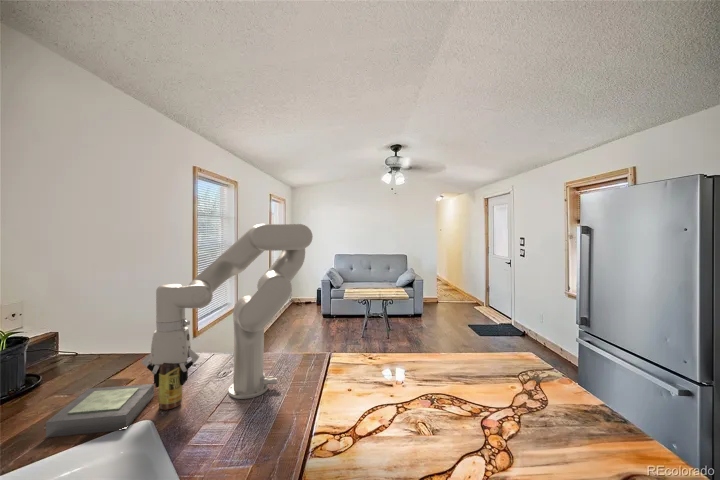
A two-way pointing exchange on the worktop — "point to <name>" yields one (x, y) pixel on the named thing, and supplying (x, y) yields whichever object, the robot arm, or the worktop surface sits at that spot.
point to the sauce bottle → (169, 386)
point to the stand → (100, 410)
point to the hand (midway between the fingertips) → (171, 383)
